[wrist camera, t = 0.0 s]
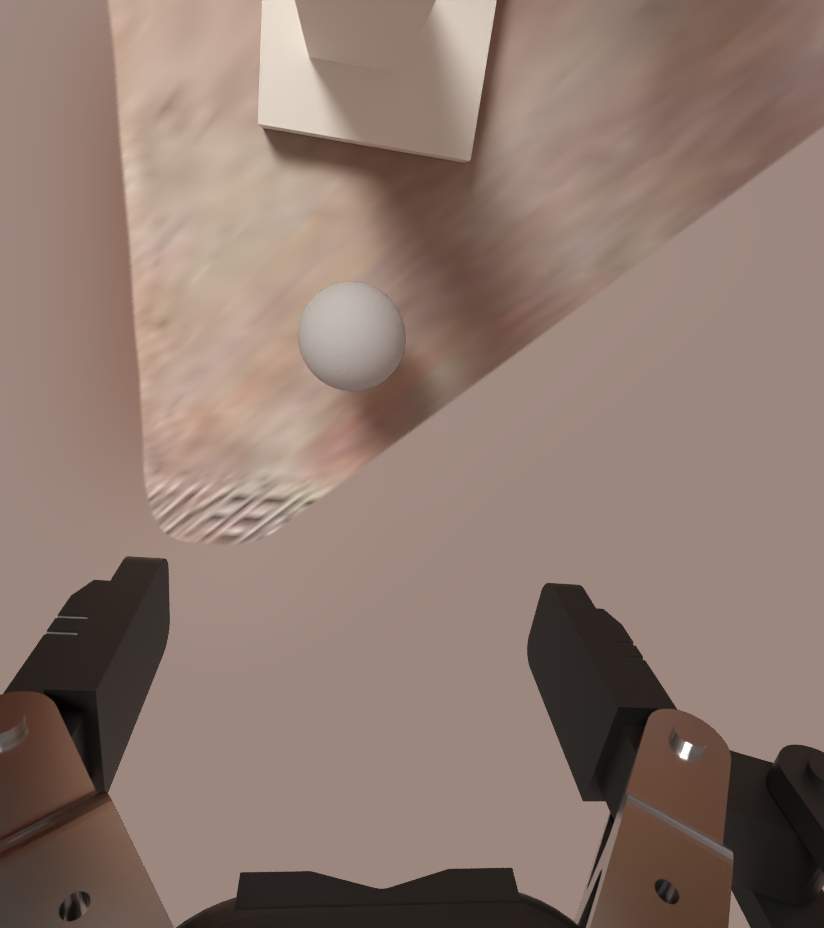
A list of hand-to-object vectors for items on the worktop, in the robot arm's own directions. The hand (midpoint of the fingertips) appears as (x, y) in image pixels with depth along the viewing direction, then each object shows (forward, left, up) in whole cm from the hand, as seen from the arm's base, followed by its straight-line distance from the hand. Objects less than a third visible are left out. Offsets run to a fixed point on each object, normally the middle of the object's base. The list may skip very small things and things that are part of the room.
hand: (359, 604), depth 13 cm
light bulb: (-1, 0, -30) cm, 30 cm away
